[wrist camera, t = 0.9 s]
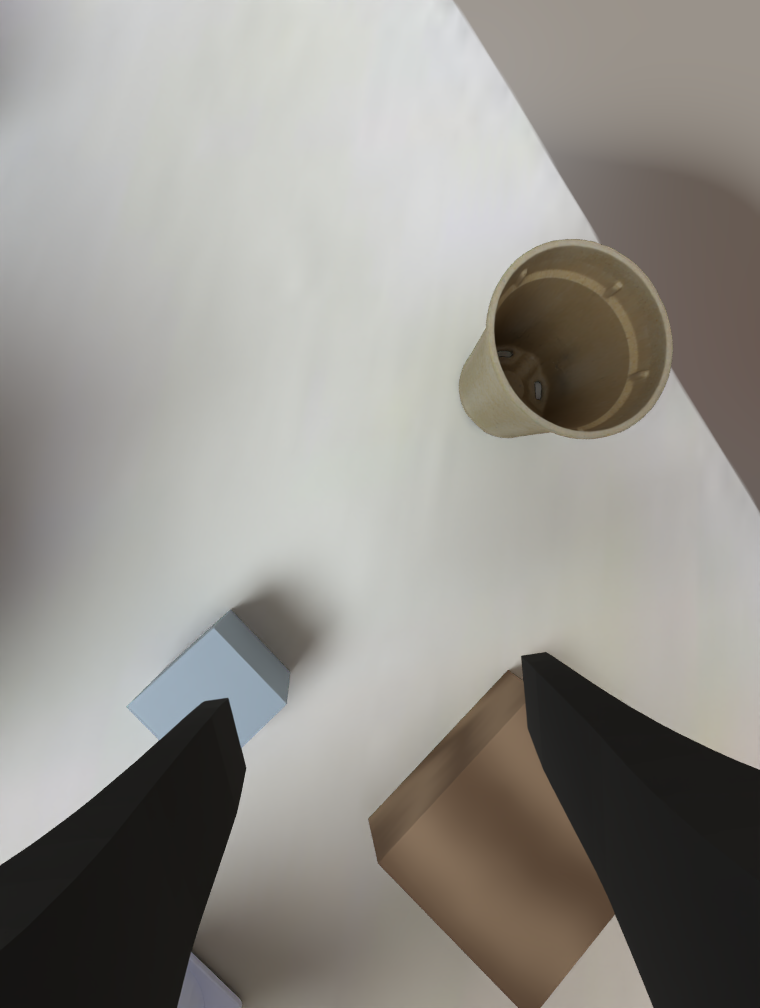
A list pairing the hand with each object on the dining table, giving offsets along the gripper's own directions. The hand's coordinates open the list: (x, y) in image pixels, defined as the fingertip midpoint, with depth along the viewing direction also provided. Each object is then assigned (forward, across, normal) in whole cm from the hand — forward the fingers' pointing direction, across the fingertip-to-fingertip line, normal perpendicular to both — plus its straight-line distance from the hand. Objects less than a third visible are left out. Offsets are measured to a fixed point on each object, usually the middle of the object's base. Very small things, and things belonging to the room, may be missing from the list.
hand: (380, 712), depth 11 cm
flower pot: (+21, -10, -6) cm, 24 cm away
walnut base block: (+14, -5, +18) cm, 23 cm away
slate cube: (+14, +10, +6) cm, 18 cm away
